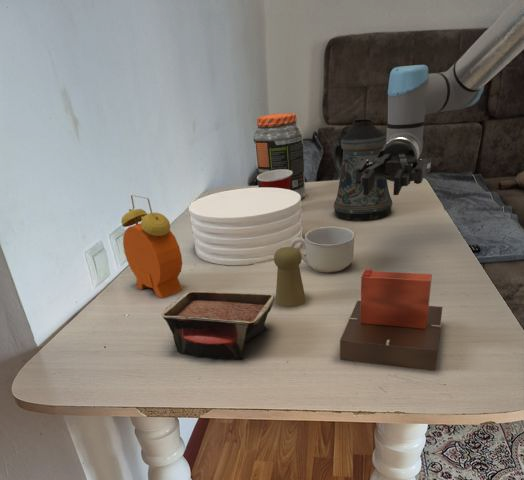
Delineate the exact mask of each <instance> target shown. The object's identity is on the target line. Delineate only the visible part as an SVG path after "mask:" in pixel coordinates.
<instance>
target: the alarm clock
mask: <svg viewBox="0 0 524 480" xmlns="http://www.w3.org/2000/svg"><path fill="white" fill-rule="evenodd" d="M133 197H136V198H141V199H146V200H147V203H148V207H149V211H150V212H149V213H147V212H146V210H144V209H142V208H135V204H134V203H135V202H134V198H133ZM130 198H131V203H132V208H130V209H128V212H126V213H125V214H124V215H123V216H122V217H121V221H120V222H121V225H122V227H123V228H126V227H128V228H126V229H125V230H124V233H123V238H122V245H123V251H124V255H125V258H126V262H127V263H128V266H129V267H130V270H131V272H133V275H134V276H135V277H136V288H137V289H140V290H142V291H143V290H144V289H147V288H151V289H152V290H153V292H154V293H155V296H156V297H158V298H160V299H165V298H166V297H169V296H171V295H173V294H176V293H178V292H180V291H182V290H183V288H182V285H181V282H180V280H179V279H178V278H179V276H180V274H181V272H182V269H183V268H182V267H183V258H182V257H183V256H182V252H181V248H180V245H179V243H178V241H177V239H176V237H175V235H174V234H173V232H172V231H171V223H170V221H169V219H168V217H166V216H165V215H164V214H162V213H159V212H155V211H153V210H152V206H151V202H150V198H149V197H145V196H140V195H134V194H132V195H130Z"/></svg>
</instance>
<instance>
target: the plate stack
mask: <svg viewBox="0 0 524 480" xmlns="http://www.w3.org/2000/svg"><path fill="white" fill-rule="evenodd" d="M301 204H302V199H301V196H300V194H298V193H297V192H295V191H292V190H288V189H282V188H269V187H259V188H258V187H246V188H245V187H244V188H236V189H229V190H225V191H218V192H215V193H212V194H208V195H205V196H202V197H200V198H198V199H195V200H194V201H192V202H191V203H190V204H189V206H188V213H189V215H190V225H191V230H192V234H193V242H194V245H195V248H194V249H195V254H196V256H197V257H198V258H199V259H201V260H203V261H204V262H207V263H211V264H216V265H223V266H247V265H254V264H255V263H260V262H266V261H271V260H274V254H275V252H276V251H277V250H278V249H280V248H283V247H290V243H291V241H292V240H293V239H294V238H296V237H301V238H304V237H303V225H302V224H303V216H302V206H301ZM302 245H303V244H302V243H300V242H297V243H295V245H294V247H295V248H297V249H298V250H299V248H300V247H301V246H302Z"/></svg>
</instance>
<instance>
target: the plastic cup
mask: <svg viewBox="0 0 524 480" xmlns="http://www.w3.org/2000/svg"><path fill="white" fill-rule="evenodd" d="M292 173H293V172H292V171H291V170H283V169H281V170H272V171H268V172H264V173H262V174H260V175H258V176H257V175H256V179H257V181H258V180H259V182H260V185H261V187H269V188H282V189H288V190H290V182H291V176H292Z"/></svg>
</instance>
